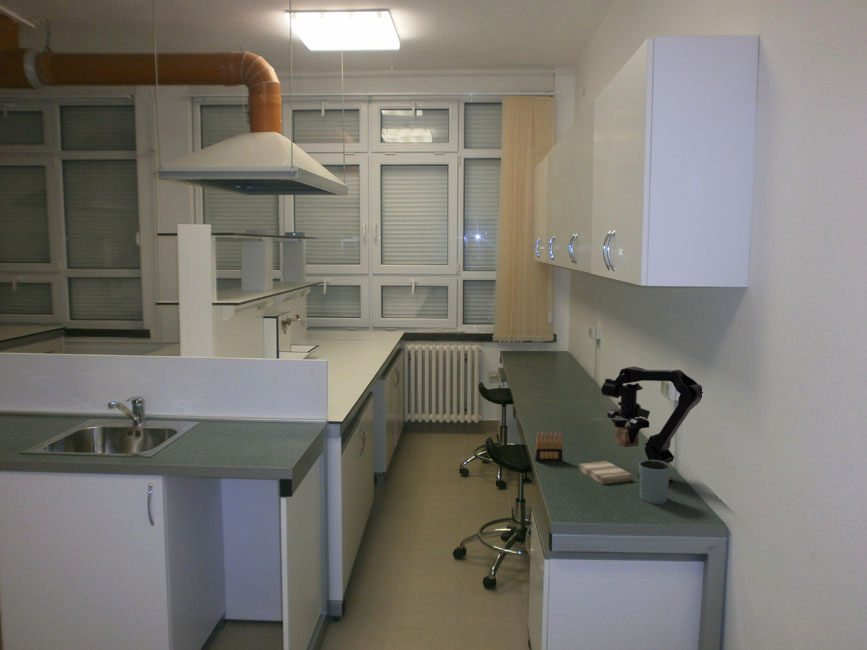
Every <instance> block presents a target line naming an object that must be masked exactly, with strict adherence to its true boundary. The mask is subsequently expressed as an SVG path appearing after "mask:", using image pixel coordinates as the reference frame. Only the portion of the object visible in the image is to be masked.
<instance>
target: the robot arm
mask: <svg viewBox="0 0 867 650" xmlns="http://www.w3.org/2000/svg"><path fill="white" fill-rule="evenodd" d="M604 380H605V381H604V383H603V384H602V386H601V395H602V396H604V397H607V398H608V397H610V398H613V399H614V398H615V399H619V398H620V401H618V403H617V404H618V405H619V406H620V408H619V409H618V408H617V409H608V411H607V413H606V414H607V417H606V418H609V419H610V420H611V421H612V423H613V425H614V427H615V428H616V427H627V430H628V435H629V439H630V443H634V441H635V438H636V436H637V434H638V432H639V433H640V430H641V429H647V428H648V429H649V428H650V421H649V420H648V418H649V416H650V413H651V411H650V410H647V409H645V408H642V406H641V405H640V403H637V400H638V398H637V397H638V391H642V390H643V389H644V388H643V386H642V385H640V384H639V382H643V381H645V382H647V381H649V382H652V381H653V382H671V383H672V385H673V386H674V388H675V390H676V391H677V393H678V394H679V396H678V401H677V403H678V404H677V405H676V407H675V408H674V410H673V411H672V413H671V415H670V416H669V418H668V419H667V421H666V422H665V424H664V426H663V427H662V428H661V430H660V431H659V432H658V433H656V434H653V435H650V436H649V437H648V440H647V442H646V443H644V452H645V454H646V457H647V460H658V461H663V462H666V463H668V464H670V463H673V461H674V459H675V456H674V455H673V453H672V452H671V450H670V447H671V443H672V439H673V437H674V436H675V434H676V432H677V431H678V430H679V428H680V427H681V425H682V423H683V422H684V420H685V419H686V418H687V417H688V415H689V413H690V411H691V410H692V409H694V408H695V407H696V406H698V403H699V402H700V400H701V398H702V393H703V392H702V387H703V386H702V385H701V384H699V383H698V382H696V381H695V380H694V379H693V378H691V377H690V376H688V375H687V374H686V373H685V372H684V371H682V370H681V369H674V370H673V369H670V370H669V369H645V368H642V367H639V366H630V367H624V368H621V370H620V371H619V373H618V376H617V377H616V378H615V379H612V378H605V379H604ZM632 383H634V384H632ZM701 386H702V387H701ZM700 403H701V402H700ZM700 403H699V404H700ZM628 422H629V425H627V426H626V424H627V423H628ZM673 479H674V478H671V477H669V481H668V482H673V481H674V480H673Z"/></svg>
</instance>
